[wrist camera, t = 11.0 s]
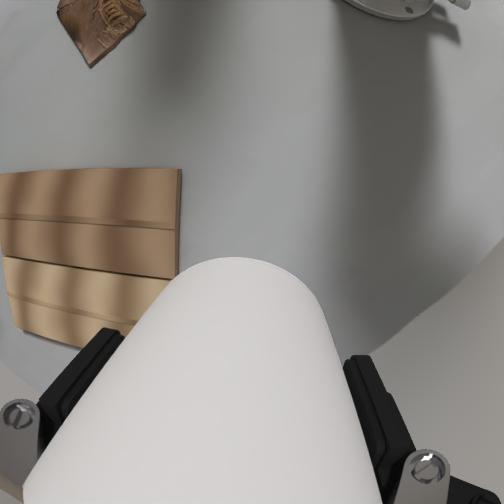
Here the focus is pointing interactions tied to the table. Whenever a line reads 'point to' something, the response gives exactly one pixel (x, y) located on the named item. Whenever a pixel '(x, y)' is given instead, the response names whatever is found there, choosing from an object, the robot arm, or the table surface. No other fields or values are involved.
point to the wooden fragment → (99, 24)
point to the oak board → (76, 299)
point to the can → (215, 404)
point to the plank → (94, 218)
